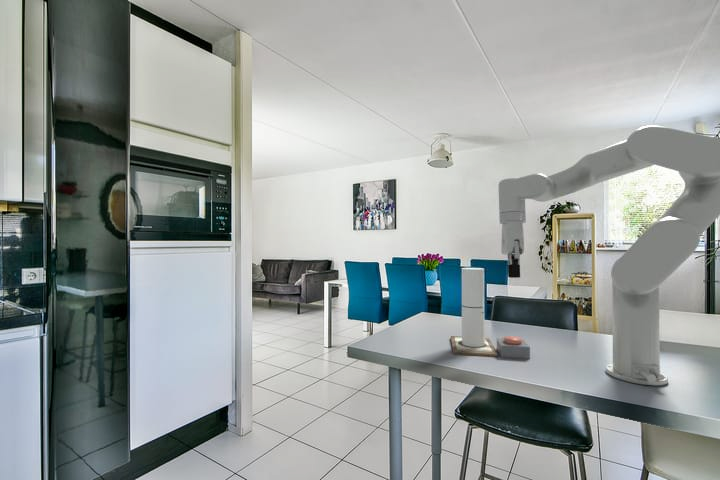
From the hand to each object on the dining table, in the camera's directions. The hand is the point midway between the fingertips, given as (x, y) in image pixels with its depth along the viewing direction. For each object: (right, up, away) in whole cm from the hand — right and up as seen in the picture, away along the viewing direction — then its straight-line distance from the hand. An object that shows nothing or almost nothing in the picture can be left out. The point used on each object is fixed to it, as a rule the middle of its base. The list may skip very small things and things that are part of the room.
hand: (514, 277), depth 108 cm
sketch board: (-11, -24, +7) cm, 27 cm away
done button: (0, -23, 0) cm, 23 cm away
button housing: (0, -24, 0) cm, 24 cm away
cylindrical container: (-10, -23, +7) cm, 26 cm away
